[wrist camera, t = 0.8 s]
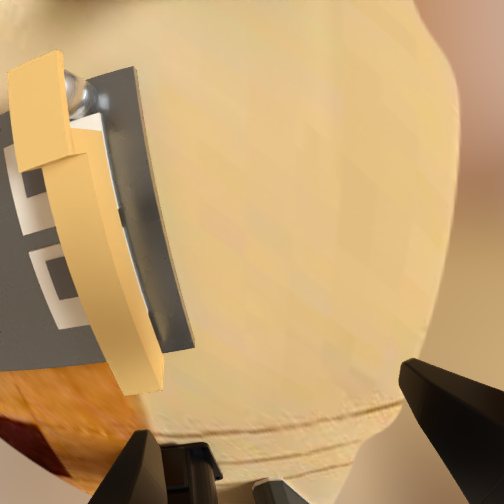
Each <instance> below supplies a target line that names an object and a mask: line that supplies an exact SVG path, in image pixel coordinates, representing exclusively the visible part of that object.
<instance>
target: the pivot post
mask: <svg viewBox="0 0 504 504" xmlns="http://www.w3.org/2000/svg"><path fill="white" fill-rule="evenodd" d="M64 77H65V88H66V97H67V105H68V113H69V118H70V119H75V120H77V119H80V118H83V117H86V116H88V115H90V114H91V113H92V112H93V110H94V109H95V107H96V105H97V101H98V93H97V90H96V88H95V87H94V86H93V85H92V84H91V83H89V82H87V81H85V80H83V79H82V78H80V77H78V76H76V75H74V74H72V73H71V72H69V71H67V70H65V69H64Z"/></svg>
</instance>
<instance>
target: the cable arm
mask: <svg viewBox="0 0 504 504" xmlns="http://www.w3.org/2000/svg"><path fill="white" fill-rule="evenodd" d="M7 77H8V95H9V107H10V117H11V126H12V134H13V141H14V148H15V154H16V160H17V165H18V170H19V173H22V172H26V171H30V170H35V169H39V168H42V171H43V176H44V181H45V186H46V190H47V194H48V199H49V203H50V207H51V211H52V215H53V218H54V222H55V226H56V229H57V233H58V236H59V240H60V243H61V246H62V249H63V253H64V256H65V259H66V262H67V265H68V268H69V271H70V274H71V277H72V279H73V282H74V285H75V288H76V290H77V293H78V296H79V298H80V301H81V303H82V306H83V309H84V311H85V314H86V316H87V318H88V321H89V323H90V326H91V328H92V330H93V333H94V335H95V337H96V339H97V342H98V344H99V346H100V348H101V350H102V352H103V355H104V357H105V359H106V361H107V363H108V365H109V367H110V369H111V371H112V373H113V375H114V377H115V379H116V381H117V383H118V385H119V387H120V389H121V390H122V392H123V394H124V396H125V395H134V394H142V393H150V392H157V391H162V386H163V370H164V357H163V354H162V352H161V349H160V346H159V344H158V341H157V338H156V335H155V333H154V330H153V327H152V324H151V321H150V318H149V315H148V312H147V310H146V307H145V303H144V300H143V297H142V294H141V291H140V288H139V285H138V281H137V278H136V275H135V272H134V268H133V265H132V261H131V258H130V254H129V251H128V247H127V244H126V240H125V236H124V232H123V228H122V225H121V221H120V217H119V212H118V208H117V204H116V200H115V195H114V191H113V186H112V182H111V177H110V172H109V167H108V162H107V157H106V152H105V146H104V141H103V135H102V131H97V130H88V129H79V128H71V127H70V120H69V113H68V105H67V97H66V88H65V77H64V65H63V53H62V52H60V51H59V50H57V49H56V50H54V51H52V52H49V53H47V54H44V55H42V56H40V57H38V58H35V59H33V60H31V61H29V62H27V63H24V64H22V65H20V66H18V67H16V68H14V69H12V70H10V71H8V72H7Z"/></svg>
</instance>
